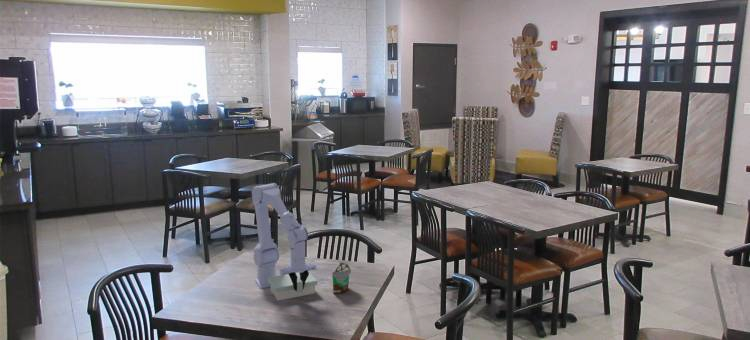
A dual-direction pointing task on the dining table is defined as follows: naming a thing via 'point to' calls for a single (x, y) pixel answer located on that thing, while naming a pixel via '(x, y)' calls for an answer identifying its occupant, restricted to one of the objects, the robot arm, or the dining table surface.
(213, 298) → the dining table surface
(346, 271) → the food container
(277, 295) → the tub
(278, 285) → the lid
